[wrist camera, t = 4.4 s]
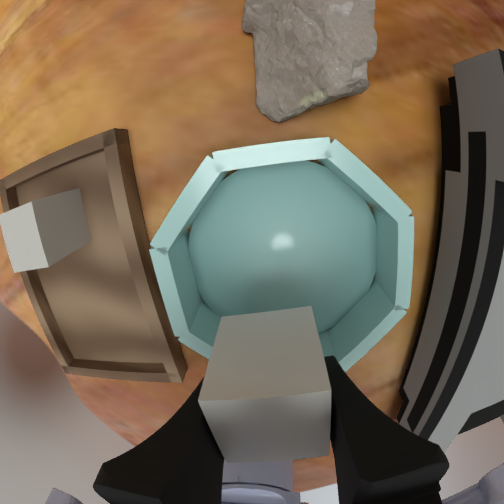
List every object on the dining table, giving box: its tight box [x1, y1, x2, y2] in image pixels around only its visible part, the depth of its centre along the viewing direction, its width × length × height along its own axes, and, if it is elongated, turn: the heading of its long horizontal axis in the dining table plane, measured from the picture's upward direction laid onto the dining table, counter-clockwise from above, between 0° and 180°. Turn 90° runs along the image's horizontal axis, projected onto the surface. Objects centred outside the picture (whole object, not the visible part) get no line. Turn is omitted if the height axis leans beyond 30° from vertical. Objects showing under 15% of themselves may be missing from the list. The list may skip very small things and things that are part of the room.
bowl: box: [149, 137, 414, 372], centre depth 17 cm, size 14×14×4 cm
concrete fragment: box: [242, 0, 378, 122], centre depth 11 cm, size 7×14×6 cm, turn 179°
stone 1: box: [0, 188, 92, 273], centre depth 16 cm, size 4×4×5 cm
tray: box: [0, 128, 187, 382], centre depth 19 cm, size 19×13×2 cm
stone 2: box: [198, 306, 331, 463], centre depth 11 cm, size 4×4×5 cm
